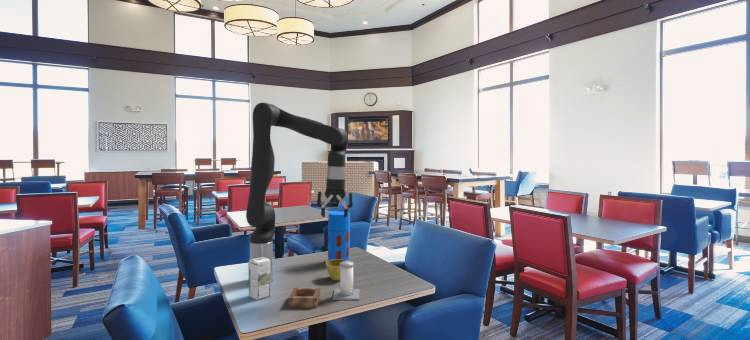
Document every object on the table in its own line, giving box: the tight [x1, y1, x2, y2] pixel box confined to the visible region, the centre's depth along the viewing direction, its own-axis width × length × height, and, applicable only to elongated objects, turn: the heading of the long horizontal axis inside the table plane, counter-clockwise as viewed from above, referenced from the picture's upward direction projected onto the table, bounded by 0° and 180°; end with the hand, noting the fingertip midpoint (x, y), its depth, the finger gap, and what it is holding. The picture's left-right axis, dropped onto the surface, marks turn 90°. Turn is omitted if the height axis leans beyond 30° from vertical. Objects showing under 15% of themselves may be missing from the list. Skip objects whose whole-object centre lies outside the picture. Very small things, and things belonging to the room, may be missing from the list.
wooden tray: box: [288, 287, 321, 309], centre depth 139 cm, size 10×10×4 cm
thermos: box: [327, 211, 351, 261], centre depth 189 cm, size 11×11×25 cm
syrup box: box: [248, 257, 271, 301], centre depth 144 cm, size 6×6×14 cm
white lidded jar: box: [339, 260, 355, 296], centre depth 147 cm, size 5×5×12 cm
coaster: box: [332, 288, 361, 301], centre depth 147 cm, size 10×10×1 cm
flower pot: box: [325, 259, 347, 281], centre depth 166 cm, size 10×10×7 cm
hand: (334, 217), depth 153 cm, fingers open, 8 cm apart
